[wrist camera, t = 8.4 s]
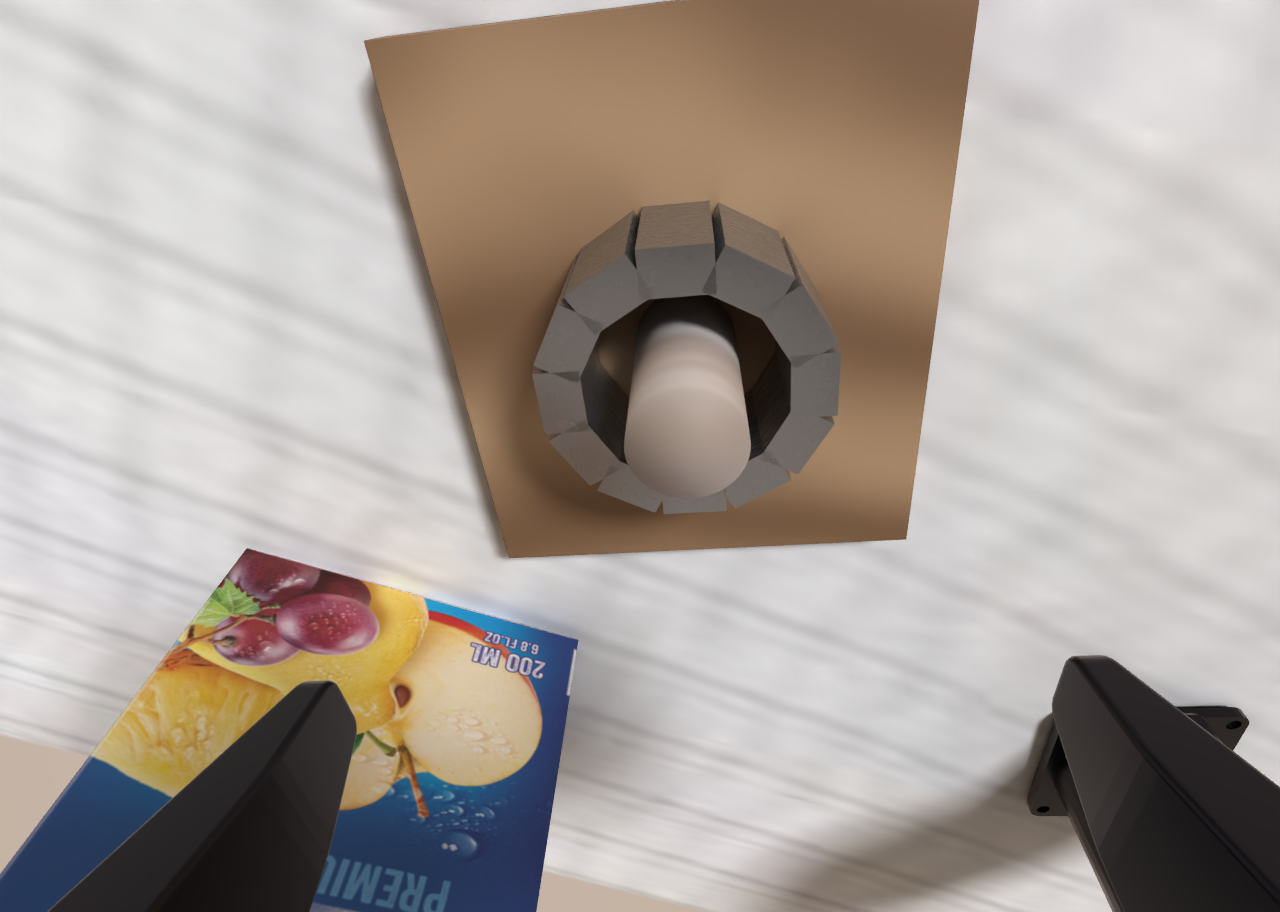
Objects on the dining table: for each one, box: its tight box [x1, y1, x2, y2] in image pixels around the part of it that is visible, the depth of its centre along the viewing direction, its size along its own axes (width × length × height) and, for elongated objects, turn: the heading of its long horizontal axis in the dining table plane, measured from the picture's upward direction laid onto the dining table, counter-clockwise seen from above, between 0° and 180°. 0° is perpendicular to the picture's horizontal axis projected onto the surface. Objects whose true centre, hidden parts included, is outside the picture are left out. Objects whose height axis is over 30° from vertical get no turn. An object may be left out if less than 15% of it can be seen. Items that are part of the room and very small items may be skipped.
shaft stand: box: [364, 0, 979, 558], centre depth 16 cm, size 14×12×6 cm
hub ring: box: [532, 200, 842, 514], centre depth 16 cm, size 6×6×3 cm
